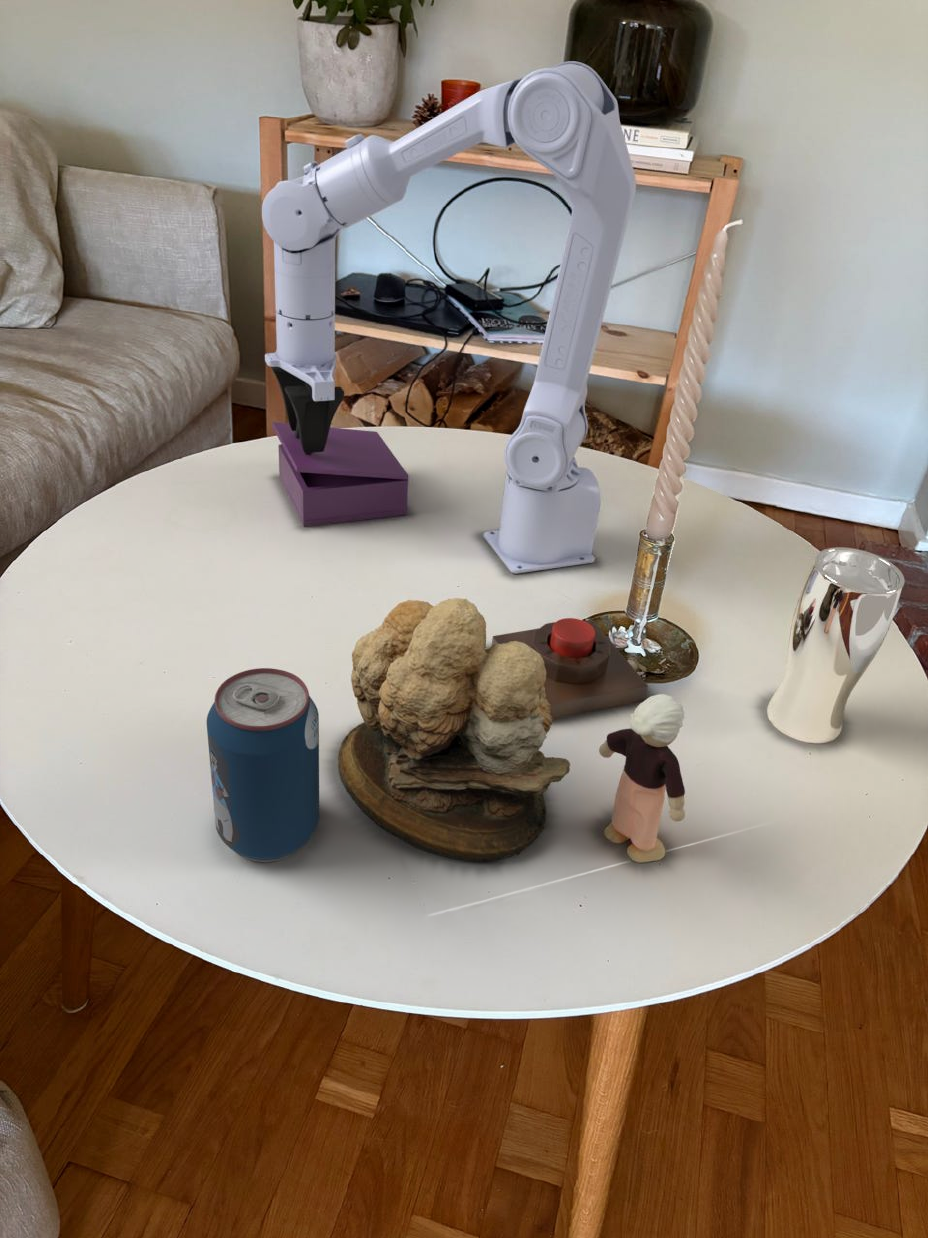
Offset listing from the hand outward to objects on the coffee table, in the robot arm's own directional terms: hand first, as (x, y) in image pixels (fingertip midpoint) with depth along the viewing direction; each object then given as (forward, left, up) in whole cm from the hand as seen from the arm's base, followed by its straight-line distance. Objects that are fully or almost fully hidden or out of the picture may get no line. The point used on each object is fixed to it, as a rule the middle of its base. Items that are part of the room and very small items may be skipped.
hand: (306, 439), depth 101 cm
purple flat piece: (-3, 0, -2) cm, 4 cm away
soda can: (+14, +46, -7) cm, 49 cm away
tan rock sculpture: (+1, +46, -7) cm, 47 cm away
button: (-14, +36, -4) cm, 39 cm away
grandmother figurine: (-10, +54, -7) cm, 55 cm away
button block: (-14, +36, -7) cm, 39 cm away
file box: (-4, 0, -7) cm, 8 cm away
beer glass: (-31, +47, -7) cm, 57 cm away
